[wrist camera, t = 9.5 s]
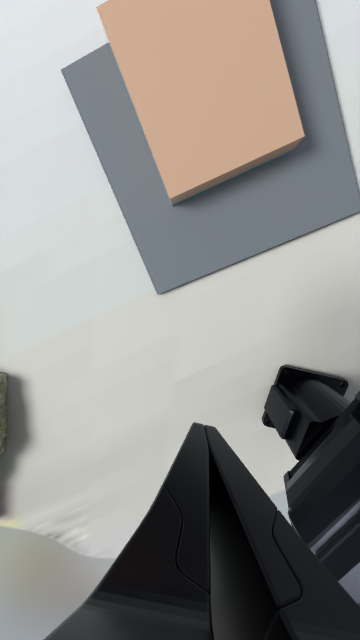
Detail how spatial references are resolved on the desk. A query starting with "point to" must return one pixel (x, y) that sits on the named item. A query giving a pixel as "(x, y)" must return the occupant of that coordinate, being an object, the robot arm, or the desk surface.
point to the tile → (204, 86)
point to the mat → (237, 193)
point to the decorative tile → (3, 410)
